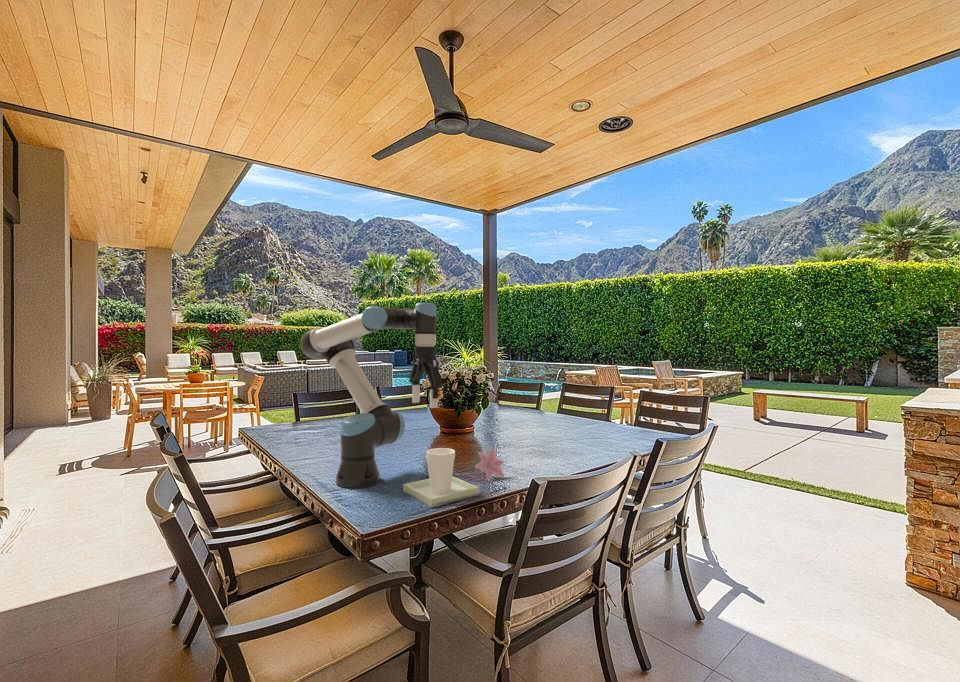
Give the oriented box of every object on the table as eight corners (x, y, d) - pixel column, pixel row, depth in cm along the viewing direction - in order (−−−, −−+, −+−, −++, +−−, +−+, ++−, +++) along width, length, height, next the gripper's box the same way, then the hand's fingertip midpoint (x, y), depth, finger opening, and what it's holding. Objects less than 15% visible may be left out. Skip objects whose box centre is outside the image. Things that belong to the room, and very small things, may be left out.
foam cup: (453, 495, 147) (453, 455, 146) (424, 495, 147) (424, 455, 147) (455, 486, 156) (455, 448, 156) (428, 486, 156) (428, 447, 156)
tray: (431, 507, 139) (431, 499, 139) (403, 491, 153) (403, 484, 153) (478, 495, 150) (478, 487, 150) (448, 481, 164) (448, 474, 164)
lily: (469, 483, 165) (478, 462, 162) (469, 462, 176) (477, 442, 173) (500, 491, 167) (510, 471, 164) (498, 470, 178) (507, 451, 175)
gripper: (452, 347, 157) (451, 409, 157) (418, 344, 177) (418, 399, 178) (433, 347, 152) (432, 410, 153) (400, 344, 173) (400, 401, 173)
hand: (424, 405), depth 165 cm, fingers open, 13 cm apart
